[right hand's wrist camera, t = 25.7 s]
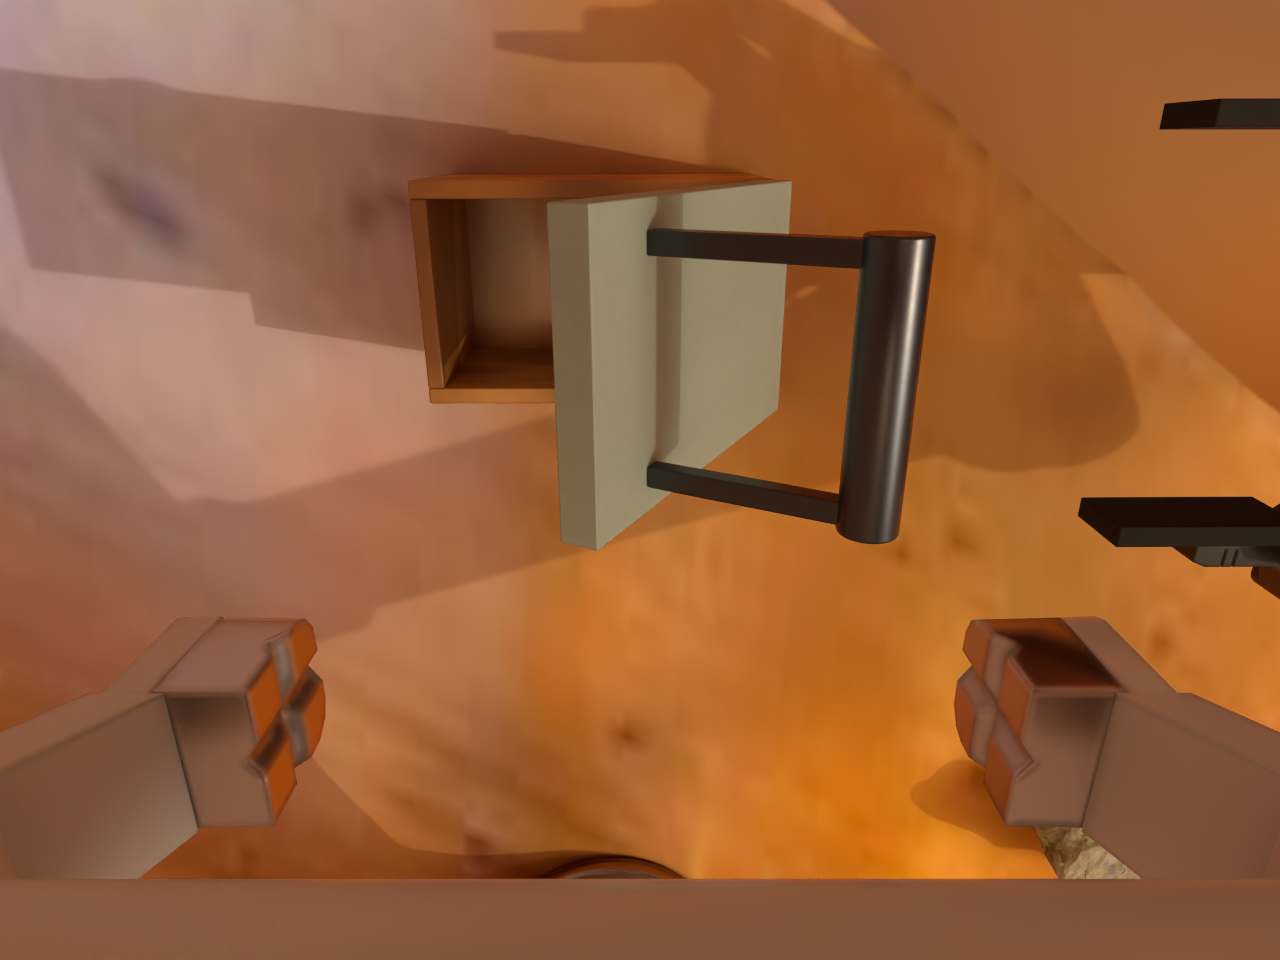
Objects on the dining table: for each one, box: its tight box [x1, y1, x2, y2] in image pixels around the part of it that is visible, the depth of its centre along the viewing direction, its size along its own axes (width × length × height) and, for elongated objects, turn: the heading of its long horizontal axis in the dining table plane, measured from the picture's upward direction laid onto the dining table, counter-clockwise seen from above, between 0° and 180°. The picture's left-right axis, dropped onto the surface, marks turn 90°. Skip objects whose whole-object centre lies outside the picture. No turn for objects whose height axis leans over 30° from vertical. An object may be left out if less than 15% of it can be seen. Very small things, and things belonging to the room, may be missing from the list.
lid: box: [547, 180, 936, 551], centre depth 27 cm, size 16×9×9 cm
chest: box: [408, 173, 772, 403], centre depth 39 cm, size 15×9×9 cm, turn 90°
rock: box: [1032, 826, 1142, 879], centre depth 55 cm, size 11×6×10 cm
